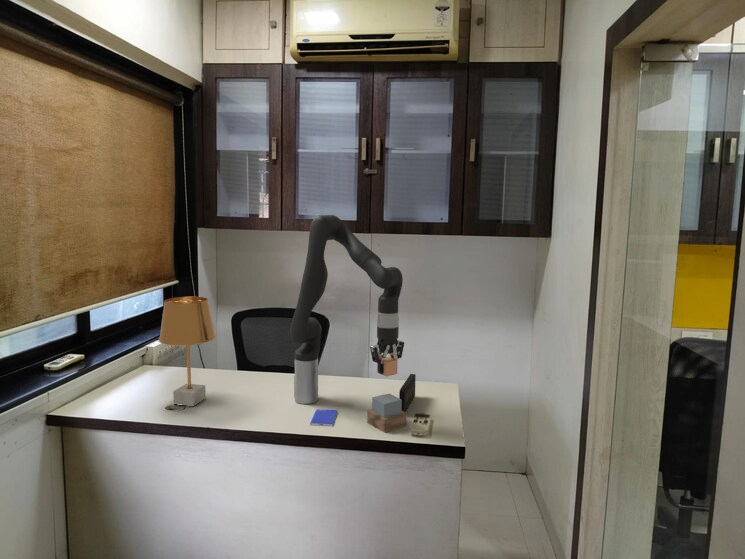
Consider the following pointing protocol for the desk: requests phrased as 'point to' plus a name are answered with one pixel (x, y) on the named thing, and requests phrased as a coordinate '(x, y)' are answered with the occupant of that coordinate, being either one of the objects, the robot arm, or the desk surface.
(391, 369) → the terracotta cube
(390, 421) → the walnut base block
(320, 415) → the hard drive
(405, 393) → the nameplate
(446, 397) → the desk surface
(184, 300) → the lamp
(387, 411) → the slate middle block
